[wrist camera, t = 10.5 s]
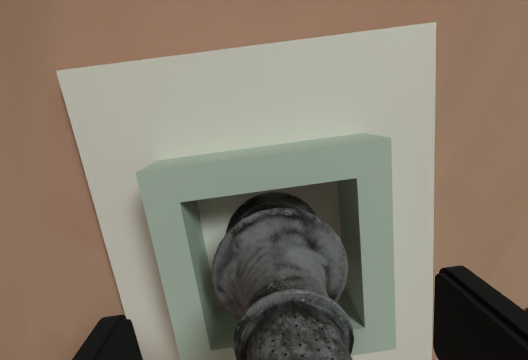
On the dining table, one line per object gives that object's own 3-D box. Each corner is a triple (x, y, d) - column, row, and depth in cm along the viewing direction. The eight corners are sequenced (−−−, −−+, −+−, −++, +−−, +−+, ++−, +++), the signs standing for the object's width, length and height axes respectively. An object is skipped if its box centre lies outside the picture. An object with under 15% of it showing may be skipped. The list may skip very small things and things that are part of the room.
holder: (69, 73, 14) (1, 59, 10) (423, 28, 15) (486, -3, 11) (156, 390, 19) (131, 462, 15) (422, 351, 19) (466, 412, 15)
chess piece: (231, 176, 15) (164, 409, 3) (339, 198, 15) (621, 466, 4) (211, 276, 16) (108, 709, 4) (311, 293, 17) (457, 719, 5)
